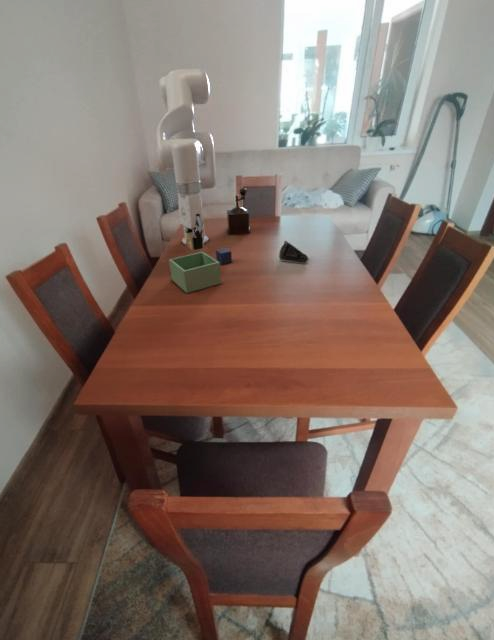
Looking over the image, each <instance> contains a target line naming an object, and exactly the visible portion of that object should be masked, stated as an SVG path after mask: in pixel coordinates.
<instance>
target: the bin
mask: <svg viewBox="0 0 494 640" xmlns="http://www.w3.org/2000/svg"><path fill="white" fill-rule="evenodd" d="M168 263H169V270H170V275H171V280H172V281H173V283H175V284H176V285H177V286H178V287H179V288H180V289H182V291H184V292H185V293H186V294H188V293H192V292H196V291H200V290H203V289H207V288H209V287H210V288H211V287H213V286H216V285H221V284H222V277H221V276H222V275H221V264H220V262H218V261H217V259H215V258H214V257H212V256H210V255H209V254H207V253H206V252H204V251H199V252H195V253H190V254H188V255H187V254H186V255H181V256H177V257H174V258H170V259H168Z"/></svg>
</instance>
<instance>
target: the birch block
mask: <svg viewBox="0 0 494 640" xmlns="http://www.w3.org/2000/svg"><path fill="white" fill-rule="evenodd" d="M195 232H196V231H195ZM185 236H186V244H187V245H186V244H185V245H186V248H188V249H189V250H190V251H196V250H195V249H194V245H193V238H194V236H193V232H190V233H184V237H185ZM202 243H203V248H205V243H204V242H203V234H202ZM203 248H202V249H203Z"/></svg>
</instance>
